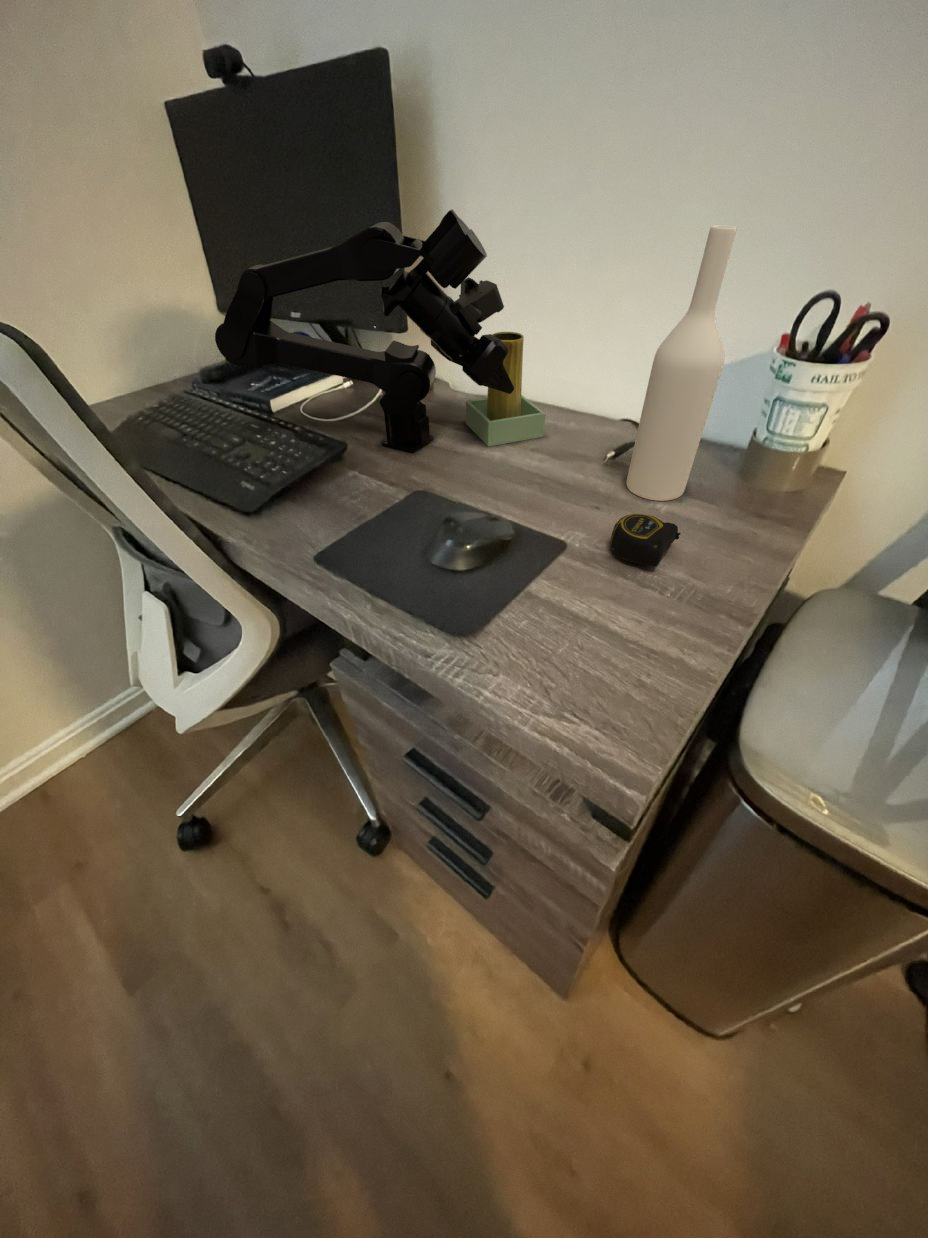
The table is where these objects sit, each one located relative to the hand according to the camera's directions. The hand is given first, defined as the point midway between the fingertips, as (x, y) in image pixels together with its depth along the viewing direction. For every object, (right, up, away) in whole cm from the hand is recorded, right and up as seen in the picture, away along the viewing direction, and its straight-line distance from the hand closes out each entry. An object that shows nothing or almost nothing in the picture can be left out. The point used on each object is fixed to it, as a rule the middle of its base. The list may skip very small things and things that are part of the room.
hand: (499, 381), depth 84 cm
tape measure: (+16, -31, -22) cm, 41 cm away
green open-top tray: (+1, -6, +6) cm, 8 cm away
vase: (+1, -6, +5) cm, 8 cm away
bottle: (+22, -20, -10) cm, 31 cm away
